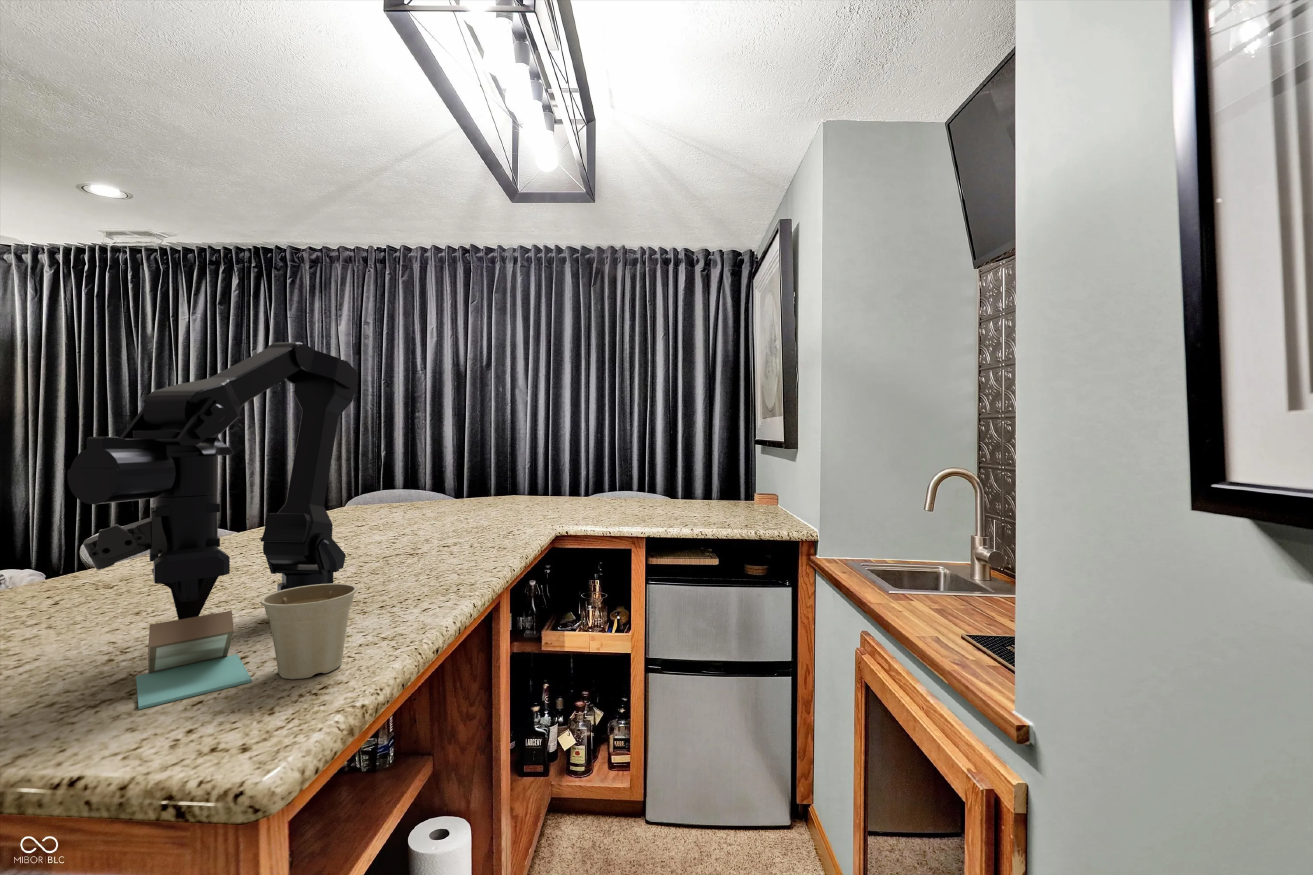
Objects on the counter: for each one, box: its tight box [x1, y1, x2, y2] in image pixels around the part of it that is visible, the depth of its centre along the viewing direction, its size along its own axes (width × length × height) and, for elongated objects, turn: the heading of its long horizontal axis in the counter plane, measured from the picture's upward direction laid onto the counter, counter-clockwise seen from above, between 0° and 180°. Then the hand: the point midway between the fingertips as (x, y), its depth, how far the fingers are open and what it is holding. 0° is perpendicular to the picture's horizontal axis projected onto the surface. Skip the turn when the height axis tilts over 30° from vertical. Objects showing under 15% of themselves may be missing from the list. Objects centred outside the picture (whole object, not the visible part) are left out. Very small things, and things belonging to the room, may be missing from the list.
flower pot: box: [260, 582, 358, 680], centre depth 64 cm, size 9×9×9 cm
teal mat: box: [135, 653, 252, 710], centre depth 61 cm, size 9×10×1 cm
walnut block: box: [147, 610, 235, 674], centre depth 64 cm, size 7×2×8 cm
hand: (186, 628), depth 66 cm, fingers closed
